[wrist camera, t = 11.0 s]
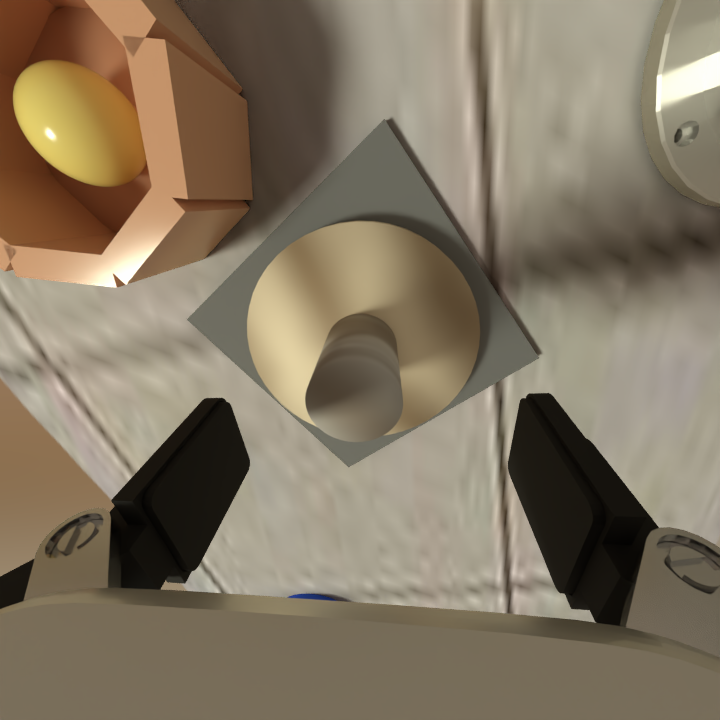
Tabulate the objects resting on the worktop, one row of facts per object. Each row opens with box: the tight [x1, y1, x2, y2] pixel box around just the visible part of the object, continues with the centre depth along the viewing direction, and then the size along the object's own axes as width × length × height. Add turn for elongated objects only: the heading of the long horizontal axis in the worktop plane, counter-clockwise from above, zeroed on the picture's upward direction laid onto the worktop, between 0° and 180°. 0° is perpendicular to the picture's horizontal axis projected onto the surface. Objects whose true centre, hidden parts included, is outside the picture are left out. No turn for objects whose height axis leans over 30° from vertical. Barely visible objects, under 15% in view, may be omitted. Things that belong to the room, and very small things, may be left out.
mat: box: [187, 119, 539, 467], centre depth 19 cm, size 15×15×1 cm
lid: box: [247, 220, 480, 442], centre depth 16 cm, size 13×13×7 cm
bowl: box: [0, 0, 253, 288], centre depth 12 cm, size 11×11×6 cm
